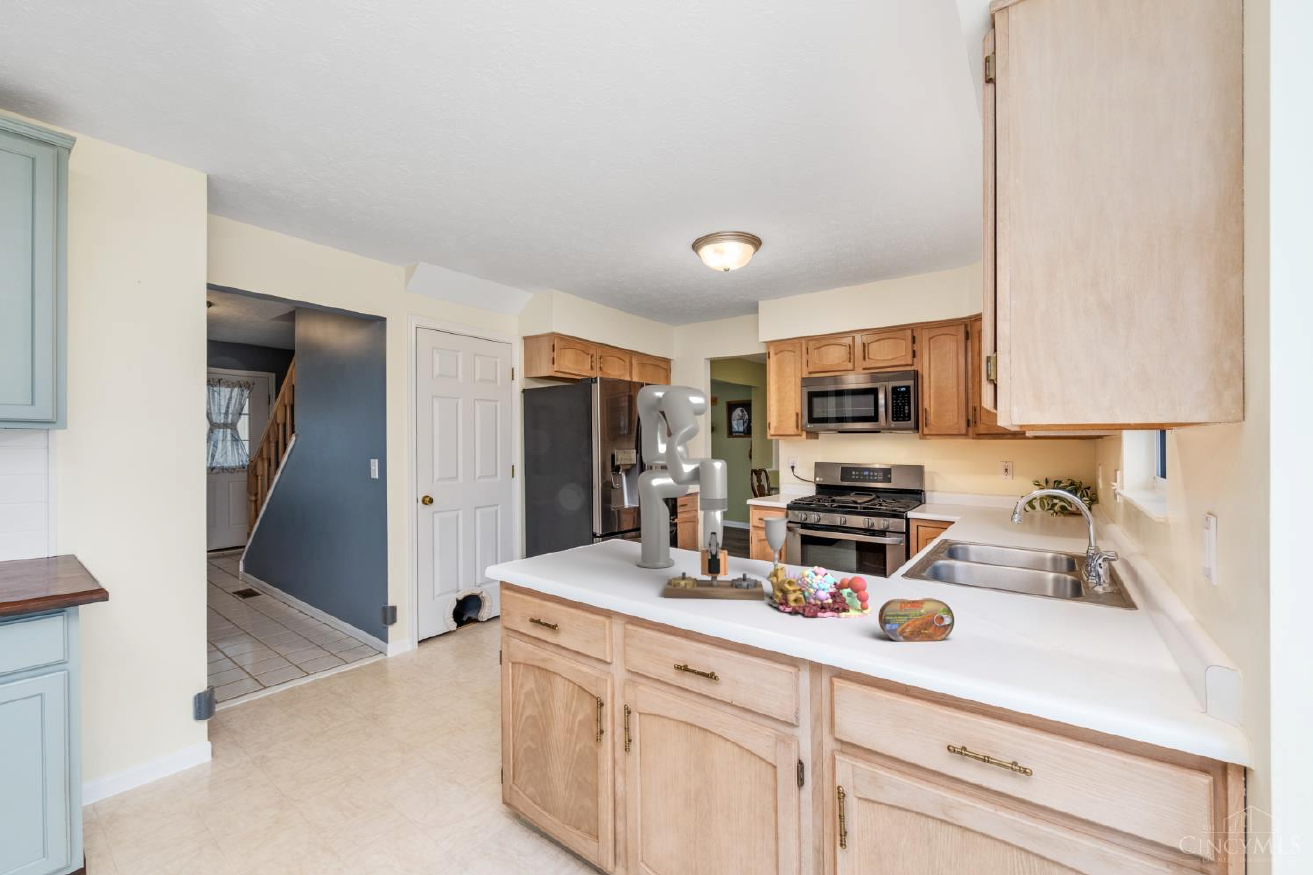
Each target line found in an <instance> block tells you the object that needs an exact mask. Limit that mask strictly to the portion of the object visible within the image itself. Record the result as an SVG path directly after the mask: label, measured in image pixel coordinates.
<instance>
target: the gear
mask: <svg viewBox="0 0 1313 875" xmlns="http://www.w3.org/2000/svg"><path fill="white" fill-rule="evenodd" d="M708 558H709V548H707V549H705V550H703V549H702V550H700V575H701V576H707V577H708V578H709V577H710V578H711V576H717V578H721V577H722V576H728V573H729V570H728V568H729V566H728V563H729V562H728V550H727V549H724V550H722V549H721V548H719V558H720V574H709V573H708Z"/></svg>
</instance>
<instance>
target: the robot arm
mask: <svg viewBox="0 0 1313 875" xmlns="http://www.w3.org/2000/svg"><path fill="white" fill-rule="evenodd" d="M708 404H709V403H708V397H707V395H706V394H705V392H704V391H702V390H701V389H700V388H696V387H691V386H688V385H687V386H686V385H667V384H649V385H644V386H643V387H641V388H640V389H639V391H638V394H637V397H636V408H637V412H638V417H639V419H640V424H641V456H642V461H643V463H644V464H645V465H647V466H653V467H654V466H658V467H661V466H663V467H664V466H666V467H667V469H648V470H646V471H643V472H641V473H640V474H639V476H638V479H637V489H638V494H639V503H640V534H641V536H640V537H641V538H640V539H641V540H640V544H641V549H640V550H641V552H640V553H641V558H639V559H637V560H636V565H637V566H638V567H640V568H646V569H647V568H648V569H660V568H661V569H662V568H668V567H672V566H674V565H675V560H674V559H673V558H670V555H671V554H670V547H671V546H670V510H669V508H668V506H667V505H666V503H665V501H664V500H663V499H667V498H680V497H684V496H686V495H687V493H688V492H689V489H690V488H689V487H690V486H697V485H698V486H699V487H698V488H699V511H700V512H703V515H702V516H703V517H702V526H703V527H702V529H703V530H702V534H703V535H702V536H703V537H702V538H703V539H702V540H703V544H702V545H703V546H702V547H703V548H704V549H706V548H707V547H708V549H709V558H708V573H709V574H720V558H719V549H721V548H722V545H723V536H724V535H723V534H724V533H723V532H724V512H727V511H728V468H727V467H728V465H727V462H726V461H725V460H724V459H713V458H709V457H708V458H707V457H706V458H705V457H704V458H702V457H699V458H697V457H696V458H695V457H690V453H689V447H688V444H687V442H689V441H691V440H693V439H694V438H695V437H696V436H697V435H698V434H699V432H700V426H699V422H698V419H697V418H696V417H698V416H703V415H705V413H706V412H707V410H708V406H709V405H708ZM660 412H664V416H665V417H664V416H663V415H662V413H660ZM665 418H666V419H665ZM667 424H668V425H667ZM668 427H669V430H670V432H671V435H670V436H668Z"/></svg>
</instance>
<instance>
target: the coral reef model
mask: <svg viewBox="0 0 1313 875" xmlns="http://www.w3.org/2000/svg"><path fill="white" fill-rule="evenodd" d="M791 571H792V570H791V569H789V571H787V570H786V566H780V565H778V566H777V567H776V568H774V567H773V570H771V571H770V572H769V575H770V578H769V579H770V581H769V582H770V584H771V587H772V593H770V594H769V595H768V596H769V597H771V598H772V599H770V600H769V601H768V604H770V605H771V606H773V607H776V608H778V609H779V610H780V611H781V612H787V613H789V612H791V615H795V614H797V613H800V614H803V615H804V617H815V618H816V617H819V618H826V617H827V618H828V617H834V618H846V619H847V618H848V619H852V618H864V617H868V616H869V615H871V614H872V612H873V609H872V607H871V604H869V603H868V601H869V594H868V592H867V590H866V589H867V587H868V586H867V582H866V580H865V579H864V578H863V577H861V576H856V575H855V576H853V577H852V578H851V579H850V578H847V577H844V578H841V579H840V580H839V583H838V582H837V580H836V579H835V578H834V576H833V575H832V573H829V572H827V569H826V568H824V567H822V566H821V567H820V566H819V567H818V566H817V565H816V566H814V567H812V568H807V569H805V570H804V571H801V570H800V574H798V576H797V570H795V572H794V575H793V574H791Z"/></svg>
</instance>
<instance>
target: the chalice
mask: <svg viewBox="0 0 1313 875" xmlns="http://www.w3.org/2000/svg"><path fill="white" fill-rule="evenodd" d="M762 520H763V523H764V536H765V537H764V538H765V539H766V542H767V544H768V546H769V548H770V550H772V551H773V556H772V558H773V562H772V564H773V566H774V567H773V569H774V568H776V567H777V566H779V564H780V563H779V561H778V560H779V554H778V552H779V551H781V549H782V547H783V545H784V543H785V540H786V538H787V522H788V520H789V518H786V517H777V516H775V517H770V516H769V517H763V518H762ZM769 578H770V574H768V577H767V579H766V580H767V581H769V582H770V579H769Z"/></svg>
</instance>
